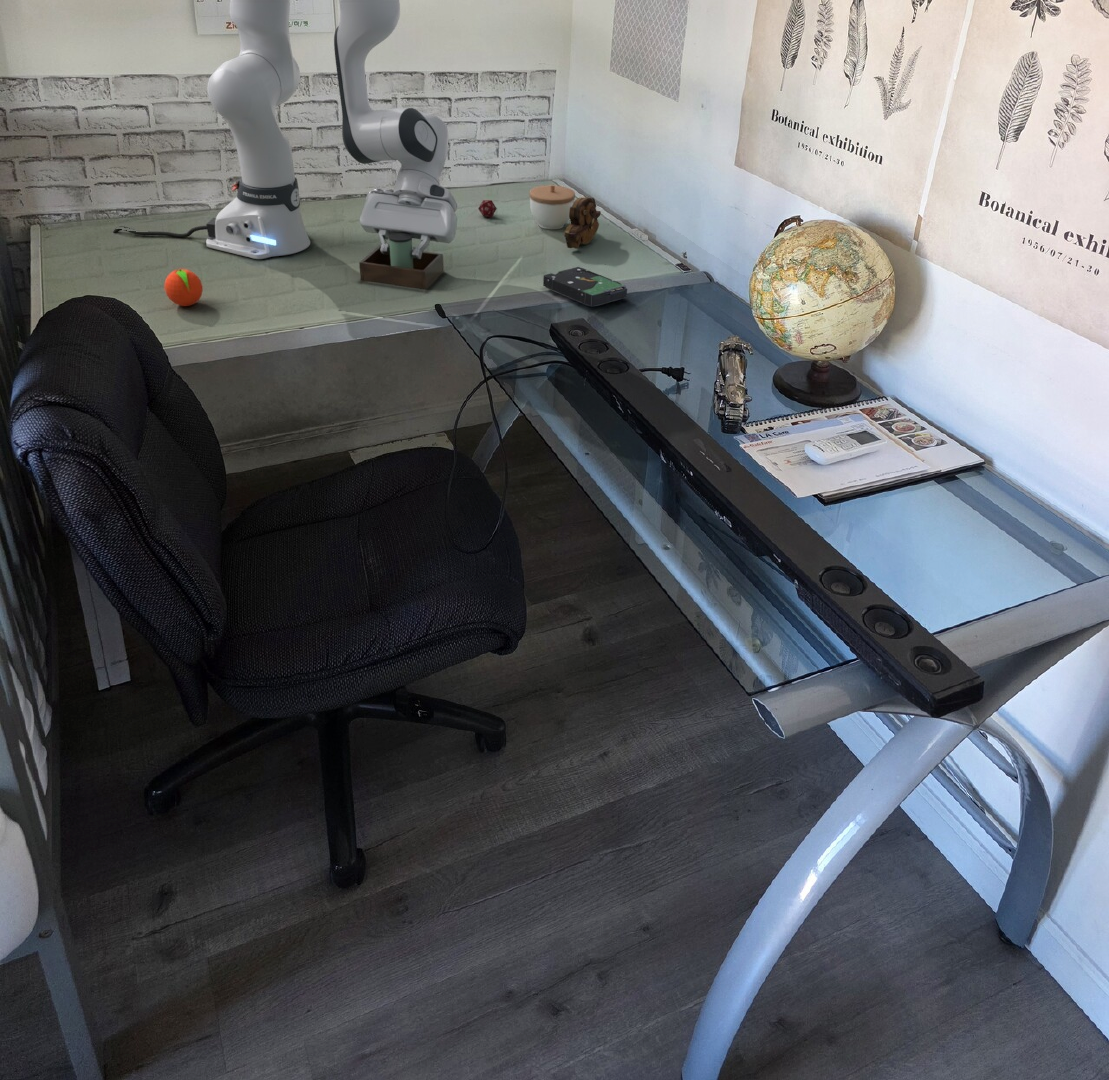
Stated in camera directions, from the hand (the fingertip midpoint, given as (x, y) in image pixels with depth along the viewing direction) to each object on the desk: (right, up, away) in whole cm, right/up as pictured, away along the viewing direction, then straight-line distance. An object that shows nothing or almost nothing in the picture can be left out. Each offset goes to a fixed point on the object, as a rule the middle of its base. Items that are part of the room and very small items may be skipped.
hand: (400, 255), depth 205 cm
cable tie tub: (0, -3, +3) cm, 5 cm away
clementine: (-40, -13, -11) cm, 43 cm away
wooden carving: (+38, +9, +24) cm, 46 cm away
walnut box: (0, -4, +4) cm, 5 cm away
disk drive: (+38, -8, 0) cm, 39 cm away
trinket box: (+31, +16, +32) cm, 48 cm away
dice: (+16, +19, +35) cm, 43 cm away
